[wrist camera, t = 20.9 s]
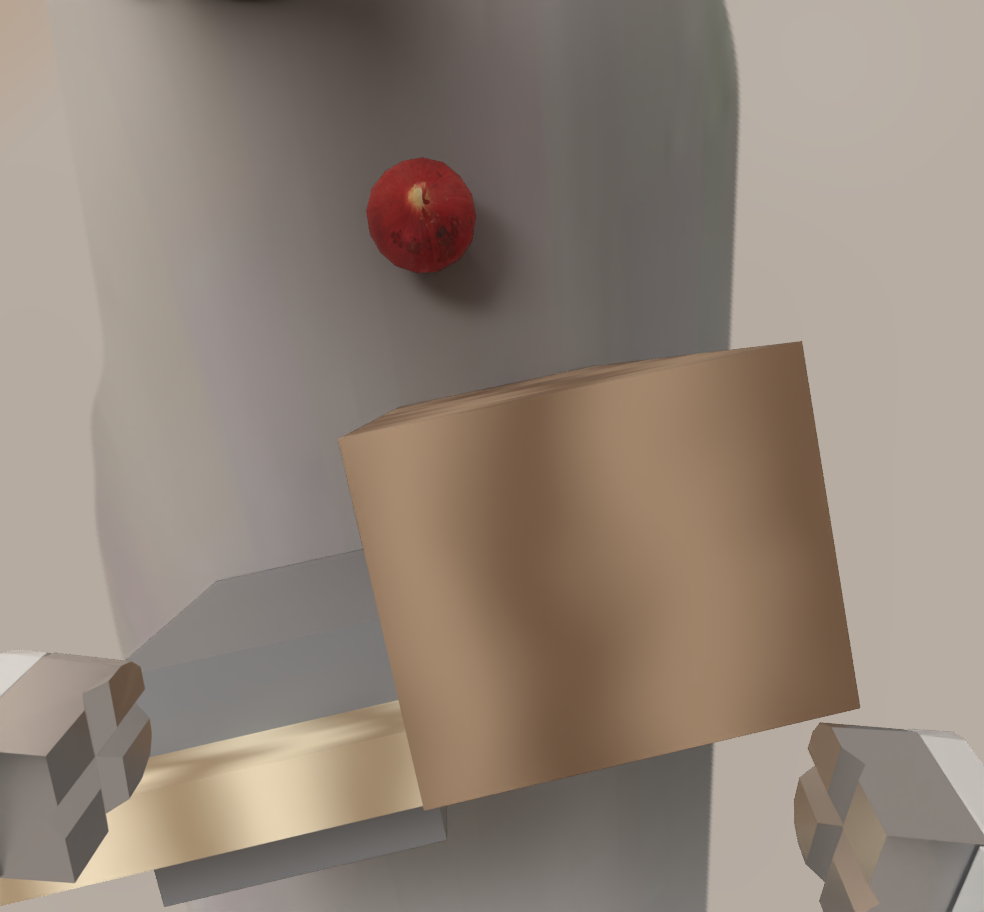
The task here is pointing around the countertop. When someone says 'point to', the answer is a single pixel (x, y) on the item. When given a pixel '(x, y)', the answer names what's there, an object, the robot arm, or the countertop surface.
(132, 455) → the countertop surface
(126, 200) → the countertop surface
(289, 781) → the bar
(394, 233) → the red apple
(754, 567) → the pedestal
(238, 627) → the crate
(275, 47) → the countertop surface
